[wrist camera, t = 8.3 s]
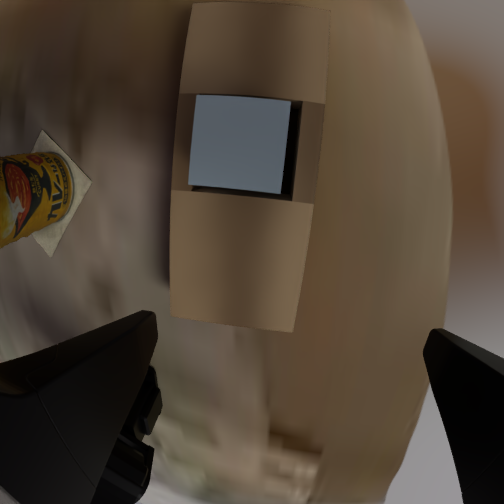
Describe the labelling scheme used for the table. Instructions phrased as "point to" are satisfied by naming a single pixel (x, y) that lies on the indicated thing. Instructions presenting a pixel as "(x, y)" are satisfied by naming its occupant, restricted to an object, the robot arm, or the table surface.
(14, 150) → the table surface
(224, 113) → the clip
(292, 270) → the brown slotted block
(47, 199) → the condiment
